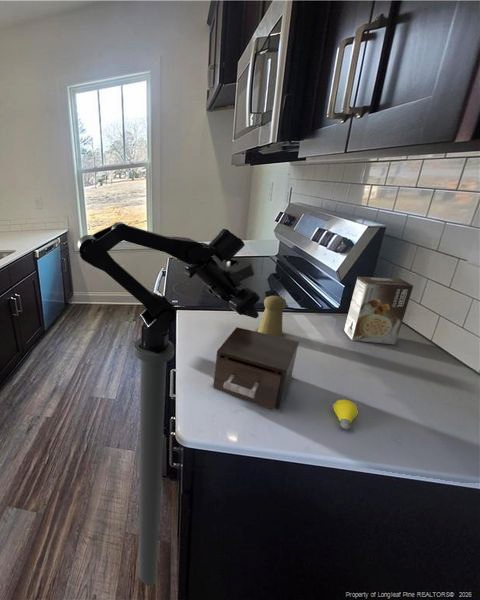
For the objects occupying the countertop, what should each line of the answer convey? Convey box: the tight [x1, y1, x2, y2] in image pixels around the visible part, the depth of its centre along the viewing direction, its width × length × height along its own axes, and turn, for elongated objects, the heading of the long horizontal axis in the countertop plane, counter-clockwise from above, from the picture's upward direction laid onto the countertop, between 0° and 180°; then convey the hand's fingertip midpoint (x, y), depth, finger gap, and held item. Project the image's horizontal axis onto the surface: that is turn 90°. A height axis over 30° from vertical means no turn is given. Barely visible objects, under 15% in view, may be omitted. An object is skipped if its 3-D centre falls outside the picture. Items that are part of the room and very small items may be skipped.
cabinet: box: [212, 326, 300, 411], centre depth 69 cm, size 14×13×9 cm
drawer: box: [213, 356, 282, 411], centre depth 66 cm, size 17×11×7 cm
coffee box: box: [343, 276, 414, 345], centre depth 82 cm, size 9×6×16 cm
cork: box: [257, 295, 287, 337], centre depth 88 cm, size 6×6×11 cm
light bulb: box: [332, 398, 359, 430], centre depth 58 cm, size 3×6×4 cm, turn 145°
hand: (247, 310), depth 87 cm, fingers open, 9 cm apart
